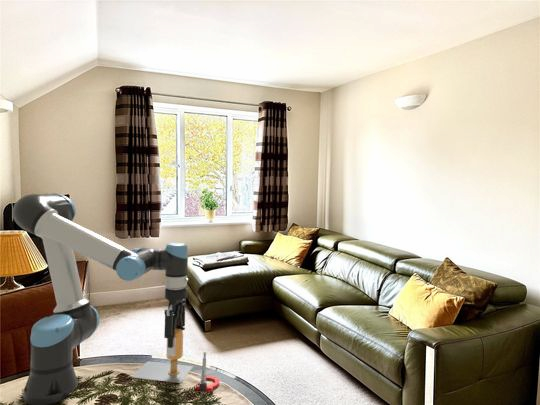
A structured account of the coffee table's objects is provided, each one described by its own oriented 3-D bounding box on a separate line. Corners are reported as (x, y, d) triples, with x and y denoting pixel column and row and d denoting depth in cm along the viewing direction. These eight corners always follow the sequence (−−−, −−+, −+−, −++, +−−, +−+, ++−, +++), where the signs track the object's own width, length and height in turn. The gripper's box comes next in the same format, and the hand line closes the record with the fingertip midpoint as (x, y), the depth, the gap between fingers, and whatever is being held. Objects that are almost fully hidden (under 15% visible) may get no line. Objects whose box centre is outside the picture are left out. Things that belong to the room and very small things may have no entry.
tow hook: (199, 377, 132) (189, 390, 123) (201, 341, 132) (192, 351, 123) (222, 380, 130) (214, 393, 121) (223, 344, 131) (216, 354, 121)
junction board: (130, 381, 127) (131, 362, 127) (147, 365, 139) (147, 348, 138) (180, 387, 124) (181, 368, 124) (193, 370, 136) (193, 353, 136)
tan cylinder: (164, 358, 128) (165, 333, 128) (170, 352, 134) (171, 327, 133) (178, 360, 128) (179, 334, 127) (184, 353, 133) (184, 329, 132)
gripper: (175, 295, 120) (174, 364, 121) (195, 281, 138) (193, 342, 139) (154, 293, 121) (152, 362, 122) (176, 280, 139) (174, 340, 140)
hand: (174, 351), depth 131 cm, fingers closed on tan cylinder, 5 cm apart
